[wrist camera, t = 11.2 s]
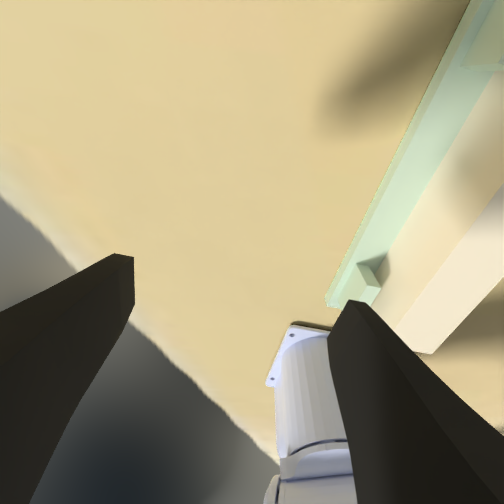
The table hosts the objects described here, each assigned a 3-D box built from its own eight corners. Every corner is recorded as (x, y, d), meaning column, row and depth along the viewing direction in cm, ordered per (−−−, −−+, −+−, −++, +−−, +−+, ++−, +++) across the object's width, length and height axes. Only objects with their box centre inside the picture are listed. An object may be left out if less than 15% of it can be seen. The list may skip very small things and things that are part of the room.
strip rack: (411, 314, 23) (433, 348, 20) (324, 297, 22) (333, 330, 19) (657, -8, 12) (786, -38, 9) (500, -60, 11) (584, -112, 8)
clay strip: (401, 306, 21) (431, 354, 17) (360, 298, 21) (382, 345, 17) (608, 18, 12) (773, -14, 8) (539, -5, 11) (676, -48, 8)
